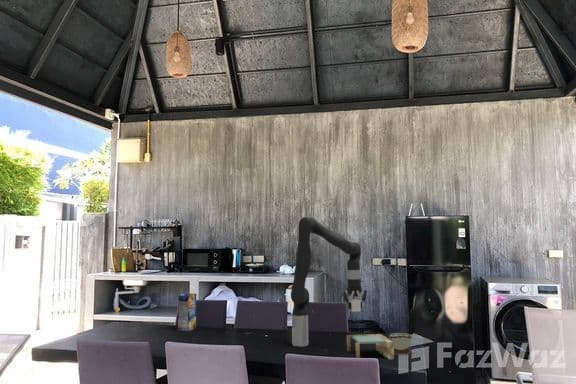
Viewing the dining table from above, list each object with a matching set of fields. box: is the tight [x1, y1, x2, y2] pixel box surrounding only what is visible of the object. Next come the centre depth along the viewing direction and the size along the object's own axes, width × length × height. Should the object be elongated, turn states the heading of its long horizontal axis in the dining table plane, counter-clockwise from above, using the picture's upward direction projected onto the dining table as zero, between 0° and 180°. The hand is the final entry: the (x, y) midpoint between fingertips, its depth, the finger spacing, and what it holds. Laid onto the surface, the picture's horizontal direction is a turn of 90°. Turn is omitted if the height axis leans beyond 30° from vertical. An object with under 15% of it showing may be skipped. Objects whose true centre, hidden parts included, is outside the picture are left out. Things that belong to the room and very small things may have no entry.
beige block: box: [349, 298, 362, 313], centre depth 238 cm, size 5×5×6 cm
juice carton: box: [177, 292, 197, 333], centre depth 299 cm, size 12×8×24 cm, turn 165°
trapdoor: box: [351, 334, 385, 345], centre depth 230 cm, size 14×14×1 cm
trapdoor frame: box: [346, 333, 395, 360], centre depth 229 cm, size 20×20×8 cm
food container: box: [388, 332, 413, 355], centre depth 233 cm, size 12×6×10 cm, turn 92°
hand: (355, 309), depth 238 cm, fingers closed on beige block, 5 cm apart
